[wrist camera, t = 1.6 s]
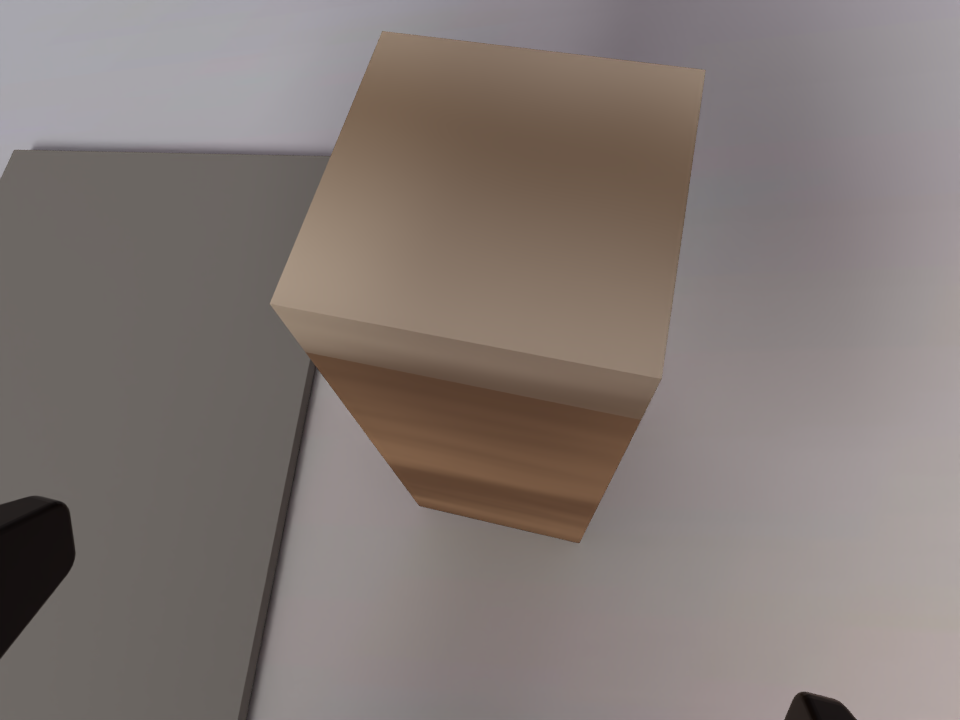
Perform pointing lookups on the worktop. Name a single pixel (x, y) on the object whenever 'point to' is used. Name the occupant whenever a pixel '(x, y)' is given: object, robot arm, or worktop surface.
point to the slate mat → (150, 420)
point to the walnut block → (498, 269)
